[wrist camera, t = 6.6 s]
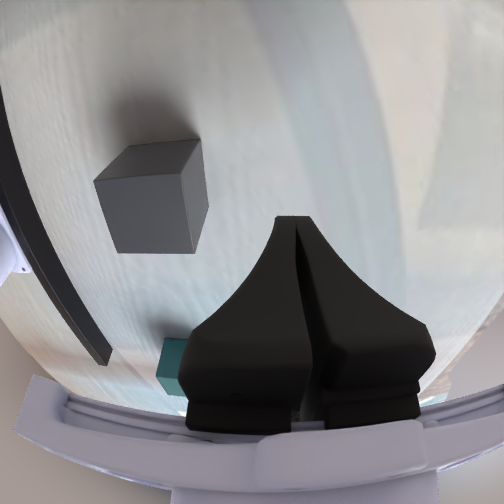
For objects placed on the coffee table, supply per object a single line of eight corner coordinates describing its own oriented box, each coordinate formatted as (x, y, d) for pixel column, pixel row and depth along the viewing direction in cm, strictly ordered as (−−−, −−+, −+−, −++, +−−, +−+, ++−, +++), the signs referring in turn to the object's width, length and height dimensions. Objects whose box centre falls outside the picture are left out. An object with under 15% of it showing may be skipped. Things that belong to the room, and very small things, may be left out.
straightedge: (104, 348, 30) (98, 364, 29) (-14, -28, 5) (-37, -26, 3) (112, 349, 30) (107, 366, 29) (-4, -36, 5) (-27, -35, 3)
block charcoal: (142, 209, 18) (117, 253, 15) (128, 146, 15) (92, 180, 12) (208, 207, 18) (195, 254, 15) (200, 139, 15) (180, 172, 12)
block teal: (174, 359, 30) (167, 395, 27) (164, 337, 28) (155, 376, 24) (214, 362, 30) (209, 399, 27) (208, 340, 27) (201, 381, 24)
